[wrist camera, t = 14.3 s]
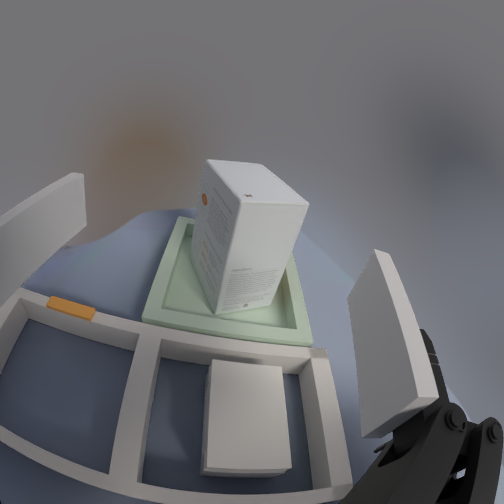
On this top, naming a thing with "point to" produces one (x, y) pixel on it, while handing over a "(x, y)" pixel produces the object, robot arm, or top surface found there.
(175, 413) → the top surface
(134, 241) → the top surface
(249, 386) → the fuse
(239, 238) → the small box
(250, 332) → the tray
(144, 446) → the beige divided frame
